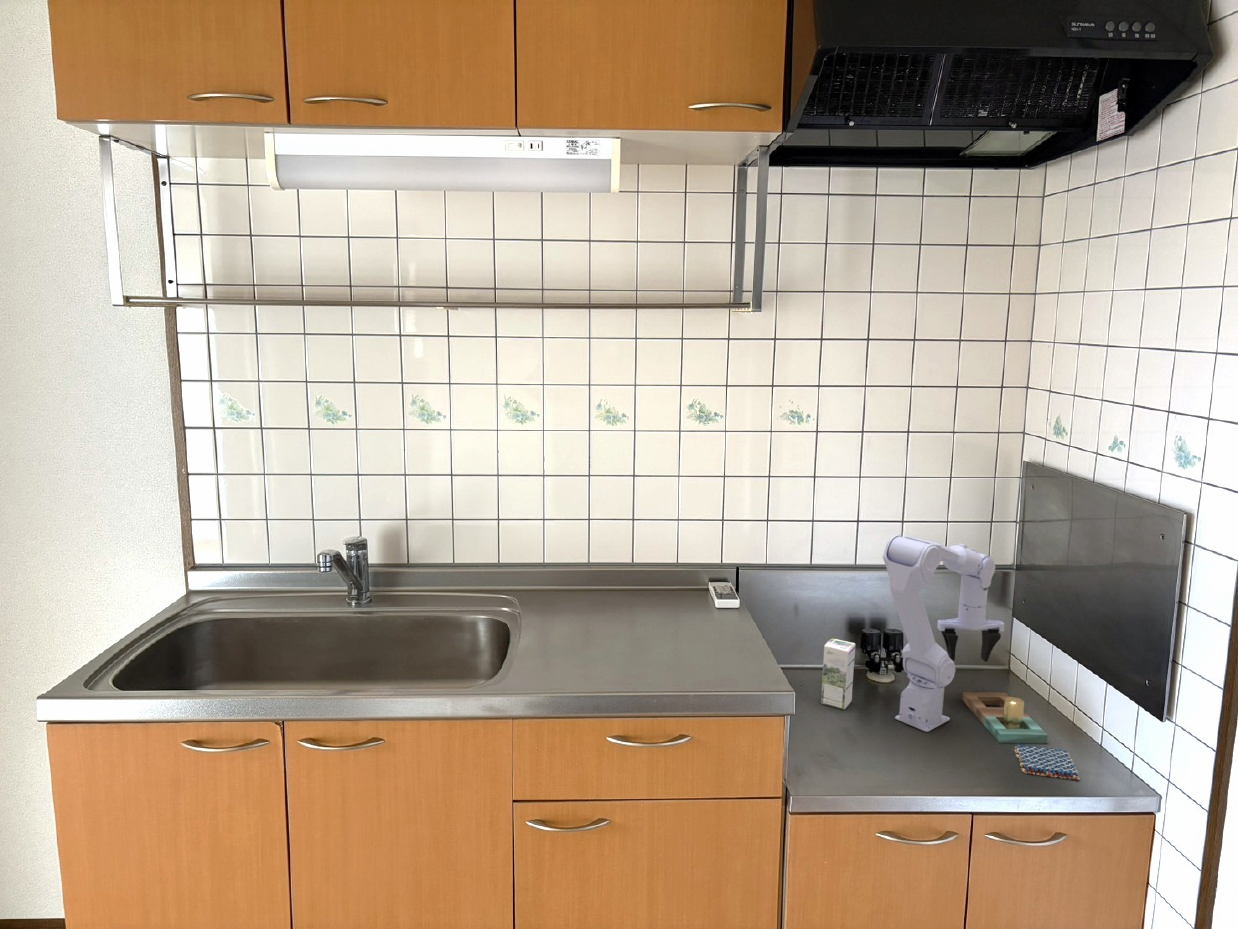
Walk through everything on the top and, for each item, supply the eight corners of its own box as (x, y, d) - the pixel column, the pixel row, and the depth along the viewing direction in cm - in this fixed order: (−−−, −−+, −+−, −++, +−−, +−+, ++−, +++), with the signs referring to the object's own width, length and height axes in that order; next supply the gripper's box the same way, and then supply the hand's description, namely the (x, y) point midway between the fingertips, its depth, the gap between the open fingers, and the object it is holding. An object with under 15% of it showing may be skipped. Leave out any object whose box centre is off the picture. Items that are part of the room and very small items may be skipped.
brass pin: (1016, 737, 182) (1019, 706, 181) (998, 730, 185) (1001, 700, 183) (1024, 731, 184) (1027, 701, 183) (1007, 725, 187) (1010, 695, 186)
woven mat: (1067, 757, 175) (1068, 748, 174) (1080, 784, 164) (1082, 775, 164) (1012, 750, 177) (1013, 741, 177) (1022, 776, 167) (1023, 767, 167)
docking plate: (1046, 743, 179) (1047, 734, 179) (999, 742, 179) (1000, 733, 179) (1005, 700, 199) (1005, 692, 198) (962, 700, 199) (963, 692, 199)
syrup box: (852, 701, 197) (856, 642, 195) (844, 711, 192) (848, 650, 190) (828, 695, 200) (832, 636, 198) (819, 704, 195) (823, 644, 193)
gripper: (997, 598, 198) (991, 653, 200) (934, 597, 198) (930, 652, 200) (1010, 608, 191) (1004, 665, 193) (945, 607, 191) (941, 664, 193)
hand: (967, 659), depth 196 cm, fingers open, 7 cm apart
